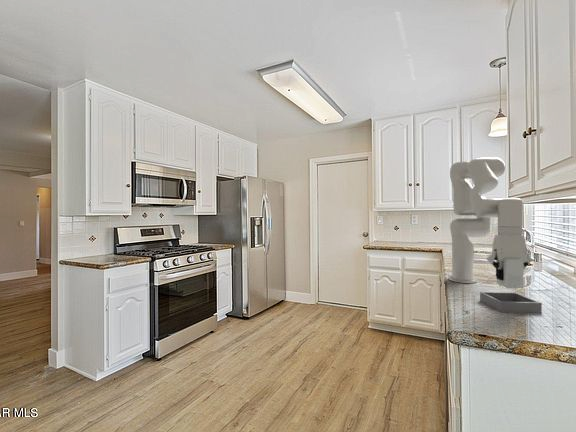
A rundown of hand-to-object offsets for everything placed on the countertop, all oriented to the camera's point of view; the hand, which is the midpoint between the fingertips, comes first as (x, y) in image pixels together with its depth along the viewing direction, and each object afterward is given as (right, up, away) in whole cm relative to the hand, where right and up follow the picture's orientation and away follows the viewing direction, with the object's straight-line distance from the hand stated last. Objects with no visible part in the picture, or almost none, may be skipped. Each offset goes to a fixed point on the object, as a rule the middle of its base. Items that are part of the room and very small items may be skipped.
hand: (509, 279), depth 116 cm
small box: (0, -3, 0) cm, 3 cm away
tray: (0, -10, 0) cm, 10 cm away
